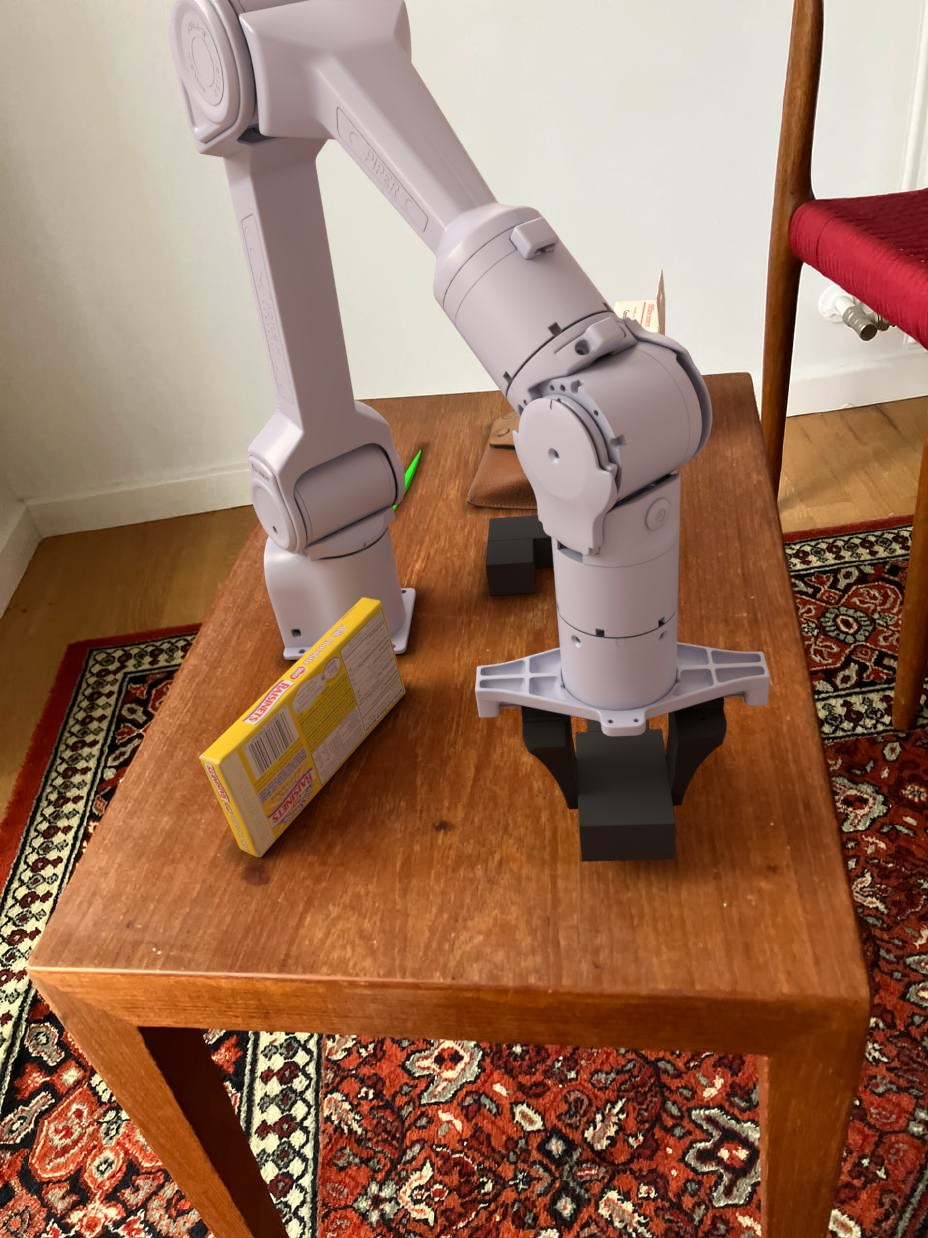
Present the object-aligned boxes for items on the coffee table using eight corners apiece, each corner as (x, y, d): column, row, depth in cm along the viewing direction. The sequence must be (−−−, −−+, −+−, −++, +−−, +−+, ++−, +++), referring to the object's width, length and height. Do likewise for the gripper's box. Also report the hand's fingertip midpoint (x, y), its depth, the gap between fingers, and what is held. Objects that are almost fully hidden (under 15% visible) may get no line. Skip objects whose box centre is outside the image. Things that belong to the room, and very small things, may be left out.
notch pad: (489, 595, 76) (485, 565, 74) (493, 547, 81) (489, 517, 79) (641, 586, 74) (640, 554, 72) (634, 538, 80) (633, 507, 78)
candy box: (383, 686, 68) (362, 593, 63) (408, 693, 67) (387, 600, 62) (235, 849, 58) (195, 753, 53) (261, 861, 57) (222, 765, 52)
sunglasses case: (489, 417, 100) (516, 364, 96) (548, 446, 101) (577, 394, 97) (463, 506, 86) (493, 448, 82) (532, 538, 87) (565, 483, 83)
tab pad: (581, 862, 51) (579, 826, 50) (576, 732, 59) (573, 697, 58) (674, 859, 51) (675, 823, 49) (656, 729, 59) (656, 693, 57)
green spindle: (385, 522, 87) (383, 514, 87) (419, 450, 98) (417, 443, 98) (394, 522, 87) (393, 514, 87) (427, 450, 98) (426, 442, 97)
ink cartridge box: (617, 410, 99) (613, 268, 90) (665, 409, 98) (666, 265, 89) (610, 449, 92) (605, 300, 84) (662, 448, 91) (662, 297, 82)
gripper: (460, 663, 43) (491, 855, 51) (791, 646, 41) (768, 848, 49) (469, 573, 48) (496, 759, 56) (761, 555, 46) (745, 750, 55)
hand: (622, 794), depth 53 cm, fingers closed on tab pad, 5 cm apart
